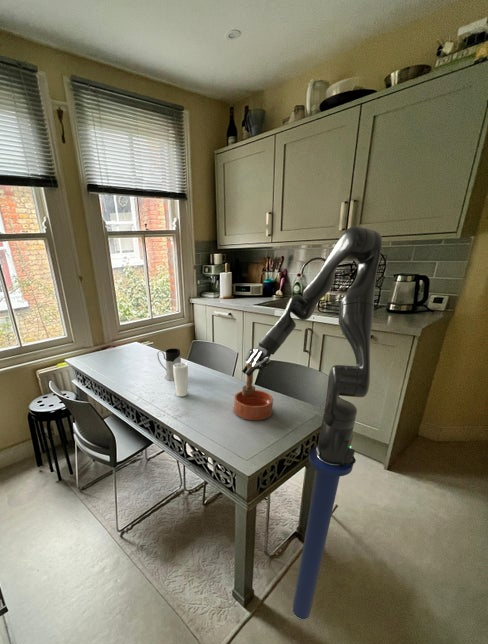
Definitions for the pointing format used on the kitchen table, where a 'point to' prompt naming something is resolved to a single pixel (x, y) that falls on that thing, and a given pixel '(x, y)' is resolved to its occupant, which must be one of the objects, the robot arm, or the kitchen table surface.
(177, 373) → the drinking glass
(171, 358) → the pitcher
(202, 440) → the kitchen table surface
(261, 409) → the bowl
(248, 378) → the wooden knob stand
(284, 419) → the kitchen table surface
